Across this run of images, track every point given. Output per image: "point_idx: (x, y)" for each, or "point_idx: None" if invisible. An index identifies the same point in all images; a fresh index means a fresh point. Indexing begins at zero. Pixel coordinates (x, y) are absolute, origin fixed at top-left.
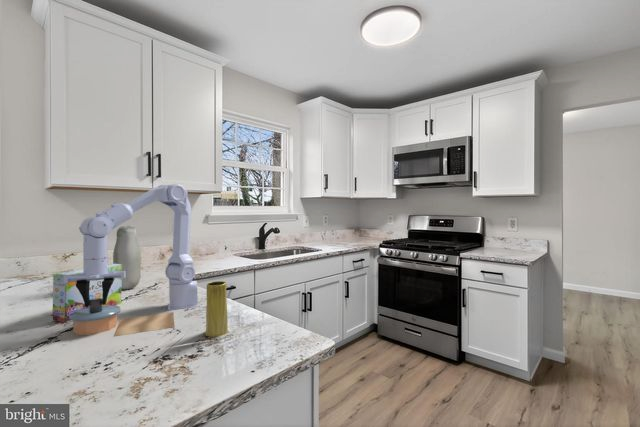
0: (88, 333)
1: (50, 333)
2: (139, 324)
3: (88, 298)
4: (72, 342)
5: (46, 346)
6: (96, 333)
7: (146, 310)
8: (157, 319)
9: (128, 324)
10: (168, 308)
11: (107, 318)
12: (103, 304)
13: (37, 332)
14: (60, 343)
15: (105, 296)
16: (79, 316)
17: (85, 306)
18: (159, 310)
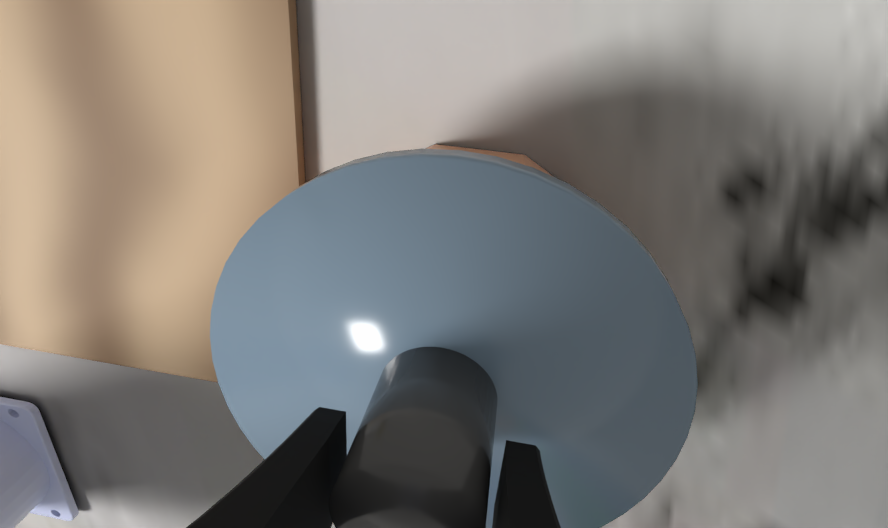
0: (508, 159)
1: (774, 401)
2: (139, 187)
3: None
4: (635, 56)
5: (852, 74)
6: (446, 148)
7: (192, 493)
8: (33, 235)
9: (228, 239)
10: (37, 430)
11: None
12: (331, 412)
13: (852, 472)
14: (732, 92)
15: (246, 486)
16: (596, 309)
17: (535, 449)
18: (108, 449)
